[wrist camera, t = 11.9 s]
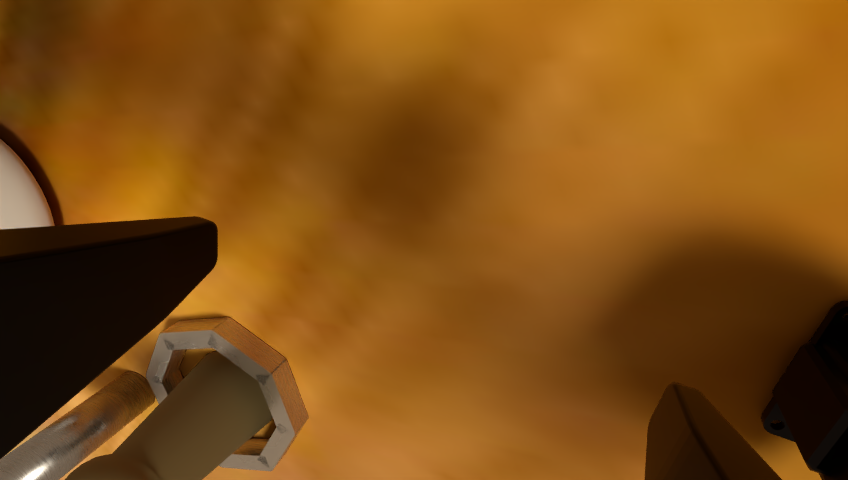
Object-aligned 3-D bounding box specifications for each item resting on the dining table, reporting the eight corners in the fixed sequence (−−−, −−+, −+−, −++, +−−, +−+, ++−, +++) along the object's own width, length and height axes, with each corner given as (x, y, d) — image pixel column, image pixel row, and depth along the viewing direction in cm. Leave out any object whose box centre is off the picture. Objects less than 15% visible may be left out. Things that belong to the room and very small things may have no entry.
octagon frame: (269, 314, 29) (141, 419, 21) (323, 456, 32) (229, 595, 24) (93, 327, 35) (-58, 412, 27) (152, 445, 38) (32, 553, 30)
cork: (268, 442, 33) (128, 609, 23) (194, 401, 34) (32, 545, 24) (281, 377, 30) (129, 536, 20) (200, 335, 31) (20, 468, 22)
